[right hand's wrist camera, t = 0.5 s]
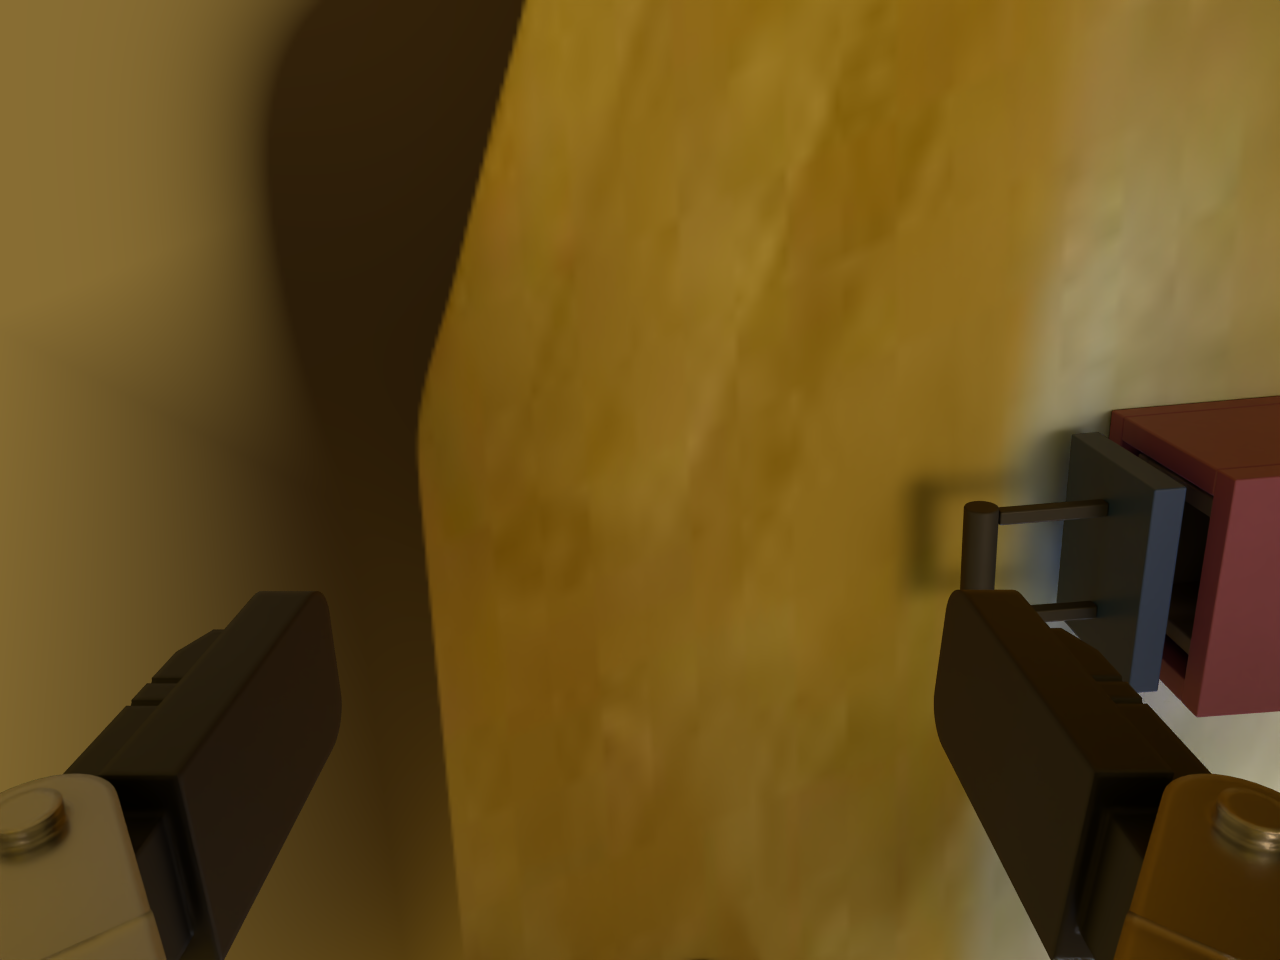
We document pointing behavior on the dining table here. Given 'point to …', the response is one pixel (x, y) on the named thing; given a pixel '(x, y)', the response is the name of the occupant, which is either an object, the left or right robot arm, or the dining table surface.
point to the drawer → (1112, 554)
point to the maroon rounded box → (1224, 547)
